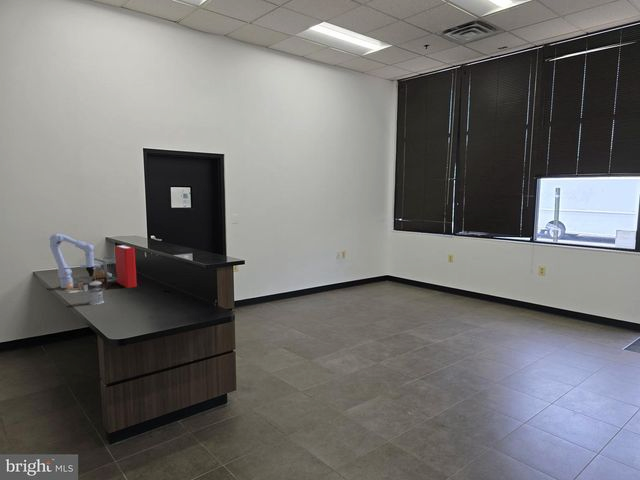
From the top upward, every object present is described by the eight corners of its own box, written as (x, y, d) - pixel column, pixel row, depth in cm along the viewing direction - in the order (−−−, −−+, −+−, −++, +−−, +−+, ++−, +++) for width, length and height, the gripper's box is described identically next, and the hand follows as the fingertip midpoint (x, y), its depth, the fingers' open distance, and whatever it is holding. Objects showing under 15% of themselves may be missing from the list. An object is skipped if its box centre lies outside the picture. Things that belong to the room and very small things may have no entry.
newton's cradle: (119, 280, 367) (117, 260, 365) (106, 282, 359) (105, 261, 357) (105, 275, 387) (104, 256, 385) (93, 277, 379) (91, 257, 377)
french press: (86, 305, 288) (83, 269, 285) (92, 300, 299) (89, 266, 296) (102, 304, 290) (99, 268, 287) (107, 299, 301) (104, 265, 298)
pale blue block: (71, 292, 324) (70, 285, 323) (88, 291, 325) (87, 284, 325) (67, 294, 318) (67, 286, 317) (84, 293, 320) (84, 286, 319)
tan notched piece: (67, 290, 331) (66, 283, 330) (83, 289, 332) (82, 282, 332) (63, 292, 325) (63, 284, 324) (80, 291, 327) (79, 284, 326)
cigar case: (92, 284, 350) (91, 270, 349) (92, 284, 352) (91, 270, 350) (106, 283, 356) (105, 269, 354) (106, 282, 357) (105, 268, 356)
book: (117, 282, 358) (114, 245, 354) (127, 281, 363) (124, 244, 359) (126, 288, 337) (124, 248, 333) (137, 286, 342) (134, 247, 338)
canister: (68, 288, 330) (67, 283, 330) (74, 288, 331) (74, 283, 330) (65, 290, 326) (65, 284, 325) (71, 290, 326) (71, 284, 326)
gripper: (78, 260, 330) (79, 277, 332) (97, 260, 332) (98, 277, 334) (81, 259, 337) (83, 276, 339) (101, 258, 339) (102, 275, 341)
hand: (91, 276), depth 337 cm, fingers closed
